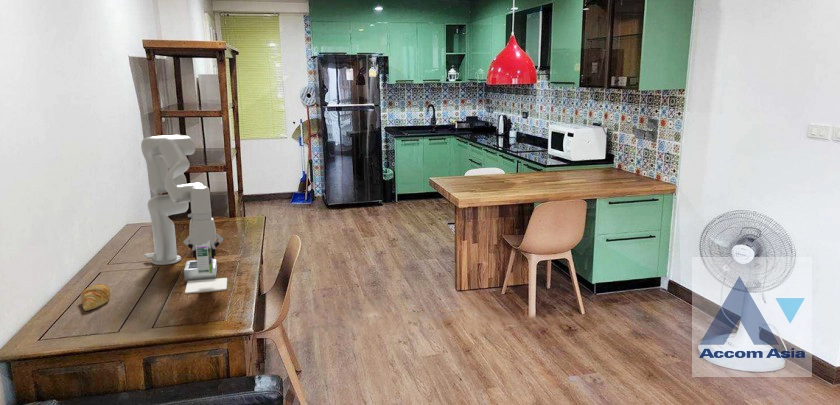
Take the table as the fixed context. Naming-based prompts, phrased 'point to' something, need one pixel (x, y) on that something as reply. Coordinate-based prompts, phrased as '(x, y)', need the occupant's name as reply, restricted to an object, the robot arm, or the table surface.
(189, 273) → the gray rectangular frame
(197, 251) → the syrup box
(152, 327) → the table surface
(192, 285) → the mat
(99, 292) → the croissant
